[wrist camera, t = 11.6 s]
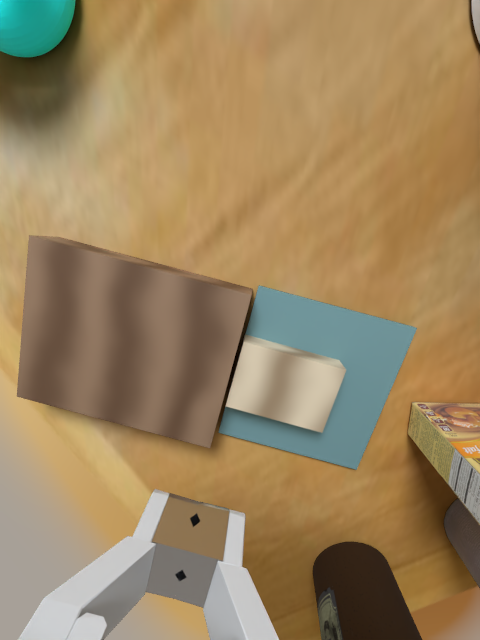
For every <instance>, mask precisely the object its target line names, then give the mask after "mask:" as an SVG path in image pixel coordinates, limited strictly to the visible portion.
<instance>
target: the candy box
mask: <svg viewBox="0 0 480 640" xmlns="http://www.w3.org/2000/svg"><path fill="white" fill-rule="evenodd" d="M408 435H409V436H410V437H411V438H412V440H413V441H414V442H415V444H416V445H417V446H418V447H419V449H420V450H421V451H422V452H423V454H424V455H425V456H426V458H427V459H428V460H429V461H430V463H431V464H432V465H433V466H434V468H435V469H436V470H437V472H438V473H439V474H440V475H441V477H442V478H443V479H444V480H445V482H446V483H447V484H448V486H449V487H450V488H451V489H452V491H453V492H454V493H455V494H456V496H457V497H458V498H459V500H460V501H461V502H462V504H463V505H464V506H465V507H466V509H467V510H468V511H469V512H470V514H471V515H472V516H473V518H474V519H475V520H476V521H477V523H478V524H479V525H480V404H469V403H421V402H412V408H411V415H410V422H409V428H408Z"/></svg>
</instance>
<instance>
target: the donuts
mask: <svg viewBox="0 0 480 640" xmlns="http://www.w3.org/2000/svg"><path fill="white" fill-rule="evenodd" d="M74 10H75V0H0V51H2V52H4V53H7V54H9V55H12V56H17V57H35V56H40V55H43V54H45V53H47V52H49V51H50V50H52V49H53V48H54V47H56V46H57V45H58V44H59V43H60V42H61V40H62V39H63V38H64V36H65V35H66V33H67V31H68V29H69V27H70V25H71V22H72V19H73V15H74Z"/></svg>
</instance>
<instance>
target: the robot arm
mask: <svg viewBox="0 0 480 640" xmlns="http://www.w3.org/2000/svg"><path fill="white" fill-rule="evenodd" d="M472 17H473V23H474V28H475V32H476V35H477V38H478V41H479V43H480V0H472ZM244 532H245V513H242V512H238V511H234V510H229V509H227V508H223V507H219V506H215V505H211V504H207V503H203V502H198V501H195V500H191V499H188V498H185V497H181V496H178V495H175V494H171V493H167V492H164V491H160V490H157V489H155V490H154V491H153V493H152V495H151V497H150V499H149V501H148V504H147V506H146V508H145V510H144V512H143V515H142V517H141V519H140V521H139V523H138V526H137V528H136V530H135V532H134V534H133V537H130V536H127V537H126V538H124V539H123V540H121V541H120V542H119V543H118V544H116V545H115V546H113V547H112V548H111V549H110V550H108V551H107V552H105V553H104V554H103V555H101V556H100V557H99V558H97V559H96V560H95V561H93V562H92V563H91V564H89V565H88V566H87V567H85V568H84V569H82V570H81V571H80V572H78V573H77V574H76V575H74V576H73V577H72V578H70V579H69V580H68V581H66V582H65V583H64V584H63V585H61V586H60V587H58V588H57V589H56V590H54V591H53V592H52V593H50V594H49V595H48V596H46V597H45V598H44V599H43V601H42V602H41V604H40V606H39V607H38V609H37V610H36V612H35V613H34V615H33V617H32V618H31V620H30V622H29V623H28V625H27V626H26V628H25V629H24V631H23V633H22V634H21V636H20V637H19V639H18V640H104V639H105V637H106V636H107V635H108V634H109V633H110V632H111V631H112V630H113V629H114V628H115V627H116V626H117V624H118V623H119V622H120V621H121V620H122V619H123V618H124V617H125V616H126V615H127V613H128V612H129V611H130V610H131V609H132V608H133V607H134V606H135V605H136V604H137V603H138V601H139V600H140V599H141V598H142V597H143V596H144V595H145V592H148V593H152V594H157V595H161V596H165V597H169V598H173V599H177V600H180V601H183V602H187V603H190V604H193V605H196V606H199V607H203V612H204V616H205V620H206V624H207V628H208V633H209V637H210V640H279V638H278V636H277V634H276V631H275V629H274V627H273V625H272V623H271V620H270V618H269V616H268V614H267V612H266V609H265V607H264V605H263V603H262V601H261V598H260V596H259V594H258V592H257V590H256V587H255V585H254V583H253V581H252V578H251V576H250V574H249V572H248V570H247V568H243V567H242V562H243V547H244Z"/></svg>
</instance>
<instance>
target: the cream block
mask: <svg viewBox="0 0 480 640" xmlns="http://www.w3.org/2000/svg"><path fill="white" fill-rule="evenodd" d="M345 373H346V369H345V367H344V366H343V365H342V363H341V362H340V360H337V359H333V358H329V357H326V356H322V355H318V354H315V353H311V352H307V351H304V350H300V349H297V348H293V347H289V346H286V345H282V344H278V343H275V342H271V341H267V340H264V339H260V338H256V337H253V336H249V335H245V336H244V340H243V343H242V347H241V350H240V354H239V357H238V361H237V365H236V368H235V372H234V375H233V379H232V382H231V386H230V389H229V393H228V397H227V402H226V407H230V408H233V409H237V410H241V411H244V412H248V413H252V414H255V415H259V416H263V417H266V418H270V419H274V420H277V421H281V422H285V423H288V424H292V425H295V426H299V427H303V428H306V429H310V430H314V431H317V432H321V433H322V432H323V430H324V427H325V424H326V422H327V419H328V417H329V414H330V411H331V409H332V406H333V404H334V401H335V398H336V396H337V393H338V391H339V388H340V386H341V383H342V380H343V378H344V375H345Z"/></svg>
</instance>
